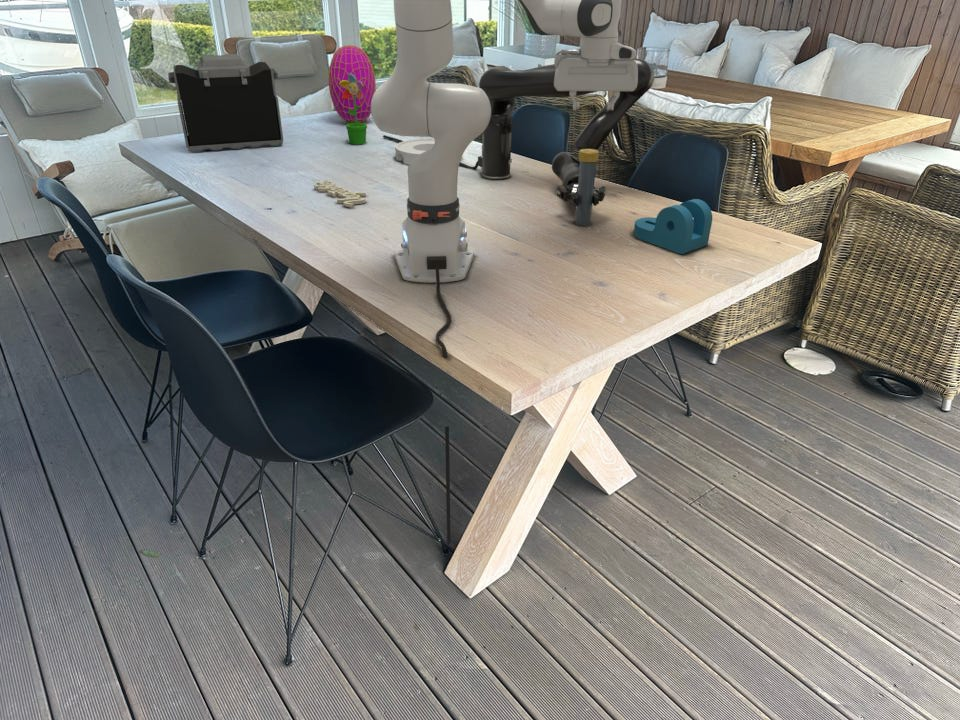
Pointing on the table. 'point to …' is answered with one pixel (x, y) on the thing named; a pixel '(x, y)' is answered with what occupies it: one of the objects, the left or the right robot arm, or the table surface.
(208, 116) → the electronic device
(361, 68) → the decorative egg
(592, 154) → the lid
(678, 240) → the camera mount
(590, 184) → the grey long cylinder
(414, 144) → the ashtray
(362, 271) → the table surface
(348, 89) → the potted flower
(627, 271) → the table surface
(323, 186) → the decorative sign
